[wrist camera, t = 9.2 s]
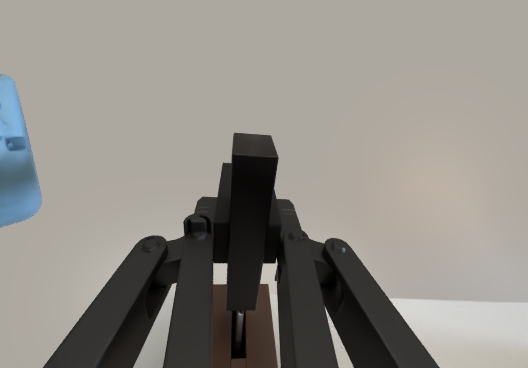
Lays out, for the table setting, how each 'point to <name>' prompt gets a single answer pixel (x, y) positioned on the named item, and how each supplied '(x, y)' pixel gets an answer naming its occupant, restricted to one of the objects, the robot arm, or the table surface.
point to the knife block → (243, 333)
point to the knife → (248, 222)
